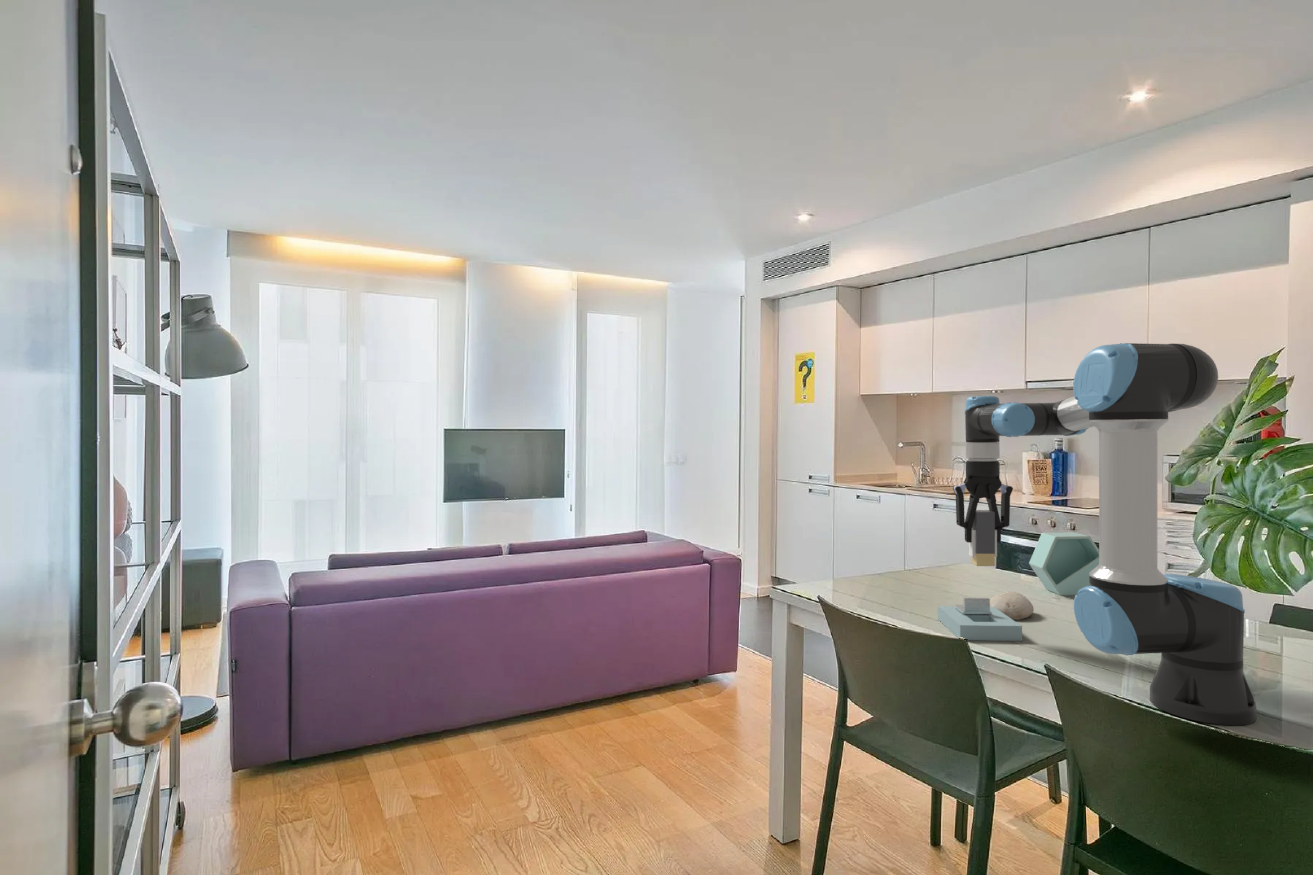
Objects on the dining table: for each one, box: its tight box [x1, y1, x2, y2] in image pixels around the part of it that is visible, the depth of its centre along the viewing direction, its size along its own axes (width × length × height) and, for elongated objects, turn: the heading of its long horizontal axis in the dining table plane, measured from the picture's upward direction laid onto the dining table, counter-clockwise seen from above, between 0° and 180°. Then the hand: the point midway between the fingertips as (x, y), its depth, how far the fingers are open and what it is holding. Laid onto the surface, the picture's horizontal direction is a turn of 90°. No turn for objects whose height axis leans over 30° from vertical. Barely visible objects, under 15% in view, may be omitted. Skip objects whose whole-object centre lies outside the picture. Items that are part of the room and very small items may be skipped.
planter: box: [1028, 531, 1099, 596], centre depth 216 cm, size 17×8×21 cm
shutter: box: [953, 597, 992, 614], centre depth 182 cm, size 7×7×4 cm
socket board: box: [937, 605, 1023, 642], centre depth 178 cm, size 18×14×4 cm
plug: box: [970, 509, 996, 567], centre depth 175 cm, size 4×4×13 cm
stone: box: [989, 590, 1035, 621], centre depth 192 cm, size 13×10×8 cm
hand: (982, 555), depth 175 cm, fingers closed on plug, 4 cm apart
